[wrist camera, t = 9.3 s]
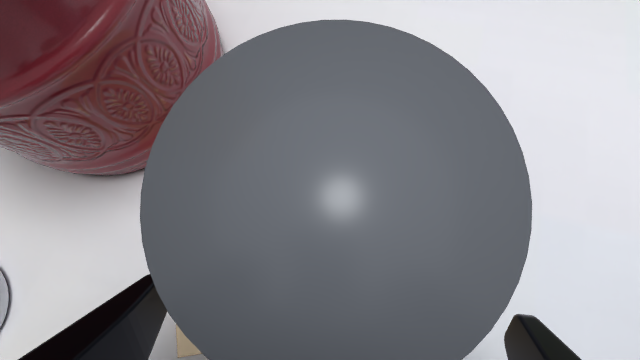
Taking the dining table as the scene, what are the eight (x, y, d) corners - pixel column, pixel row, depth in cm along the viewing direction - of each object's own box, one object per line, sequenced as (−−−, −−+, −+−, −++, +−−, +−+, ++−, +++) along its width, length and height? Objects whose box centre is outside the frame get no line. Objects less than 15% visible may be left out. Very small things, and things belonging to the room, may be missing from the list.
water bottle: (306, 304, 16) (177, 464, 3) (282, 213, 17) (116, 77, 4) (397, 276, 16) (609, 327, 3) (367, 187, 17) (440, -21, 5)
